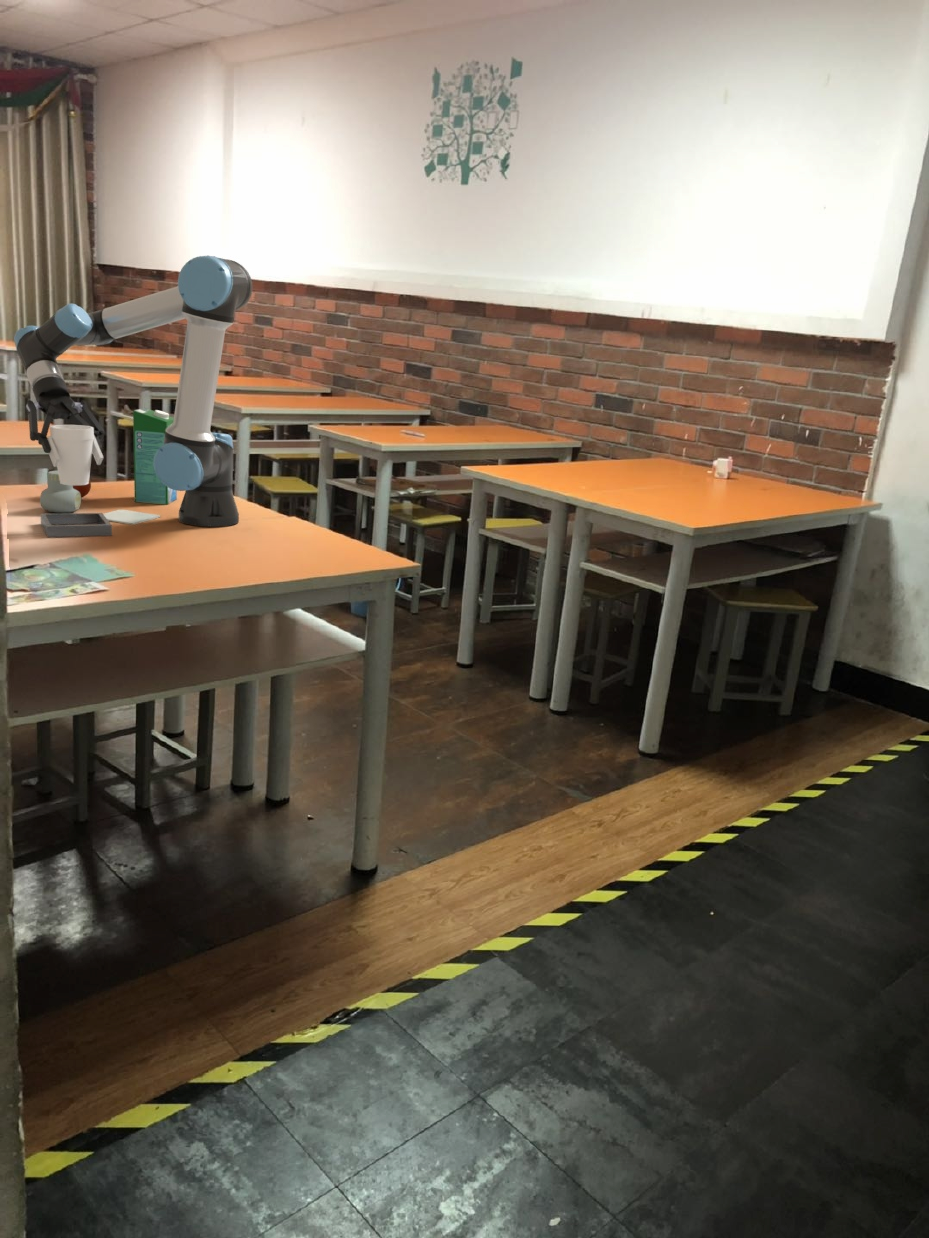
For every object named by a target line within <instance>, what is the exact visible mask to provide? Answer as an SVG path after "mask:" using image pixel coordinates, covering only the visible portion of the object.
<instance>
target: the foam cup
mask: <svg viewBox="0 0 929 1238" xmlns="http://www.w3.org/2000/svg"><path fill="white" fill-rule="evenodd" d="M49 429H50V431H49V434H50V436H51V437H52V440H53V443H54V445H55V448H56V450H57V453H58V455H59V458H60V461H59V463H58V466H57V467H56V468H57V471H58V474H59V480H60V484H63V485H87V484H89V478H90V474H91V464H92V456H93V453H92V445H93V439H94V428H93V427H90V426H84V425H74V424H53V425H50V426H49Z"/></svg>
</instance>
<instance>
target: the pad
mask: <svg viewBox="0 0 929 1238" xmlns="http://www.w3.org/2000/svg"><path fill="white" fill-rule="evenodd" d="M103 515H104V516H105V517H106V519H107V520H108V521H109V522H113V523H120V524H126V525H130V526H131V525H137V524H141V523H144V522H148V521H152V520H155V519H157V518H161V517H162V515H160V514H154V513H147V512H140V511H135V510H127V509H117V510H112V511H108V512H105V513H103Z"/></svg>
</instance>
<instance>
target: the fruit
mask: <svg viewBox="0 0 929 1238" xmlns="http://www.w3.org/2000/svg"><path fill="white" fill-rule="evenodd" d="M91 488H92V483H91V479H90V477H89V484H87V485H73V489H75V490H77V491H79V492H80V494H81V499H82V498H84V497H86V496H87V495H88V494H89V492H90V491H91Z"/></svg>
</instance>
